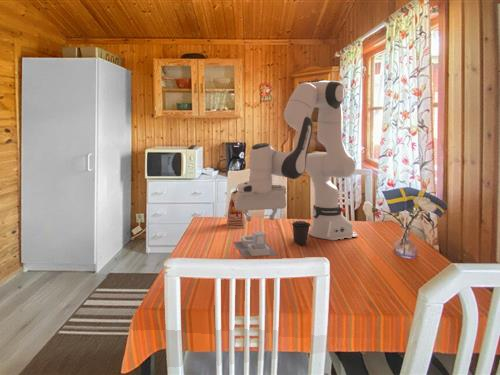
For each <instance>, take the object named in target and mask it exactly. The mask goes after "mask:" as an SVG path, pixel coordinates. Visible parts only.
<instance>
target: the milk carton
mask: <svg viewBox="0 0 500 375" xmlns="http://www.w3.org/2000/svg"><path fill="white" fill-rule="evenodd" d="M237 191H238V188H237V187H235V190H234V191H233V192H232V193H230V197H229V202H228V212H227V219H226V228H233V229H234V228H237V229H245V228H246V215H245V214H244V212H243V211H237V210H236V209H235V207H234V203H235V195H236V193H237Z"/></svg>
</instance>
